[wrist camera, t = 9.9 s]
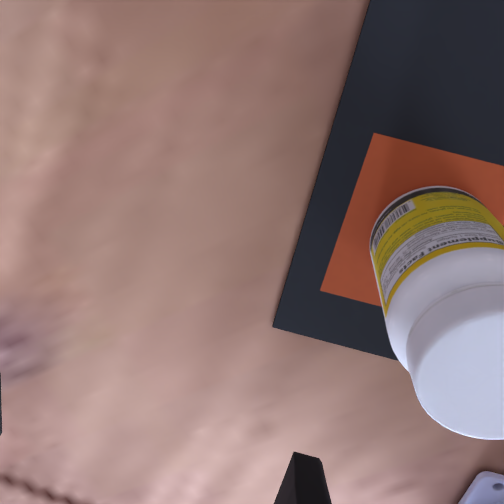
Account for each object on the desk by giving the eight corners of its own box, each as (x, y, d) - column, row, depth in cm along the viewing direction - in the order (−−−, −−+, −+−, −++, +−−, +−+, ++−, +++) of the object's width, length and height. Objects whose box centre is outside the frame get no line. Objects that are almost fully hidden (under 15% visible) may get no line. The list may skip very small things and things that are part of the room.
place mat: (873, -276, 12) (882, -281, 12) (484, 381, 22) (486, 384, 22) (481, -369, 12) (483, -375, 12) (272, 324, 22) (272, 327, 22)
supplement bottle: (491, 286, 20) (597, 452, 12) (373, 296, 20) (403, 456, 13) (495, 173, 18) (624, 288, 10) (363, 190, 18) (392, 306, 11)
